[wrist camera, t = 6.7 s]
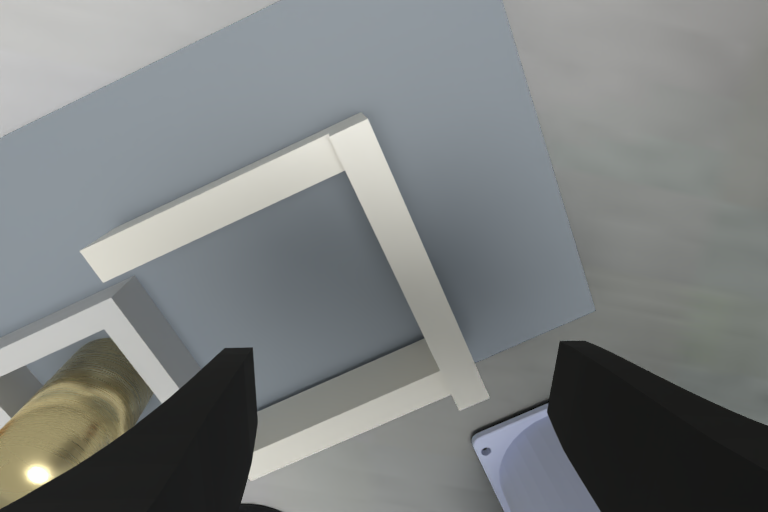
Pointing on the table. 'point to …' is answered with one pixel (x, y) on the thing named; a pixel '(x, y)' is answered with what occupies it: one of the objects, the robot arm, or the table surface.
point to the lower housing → (402, 249)
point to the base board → (288, 202)
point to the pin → (70, 418)
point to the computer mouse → (254, 508)
